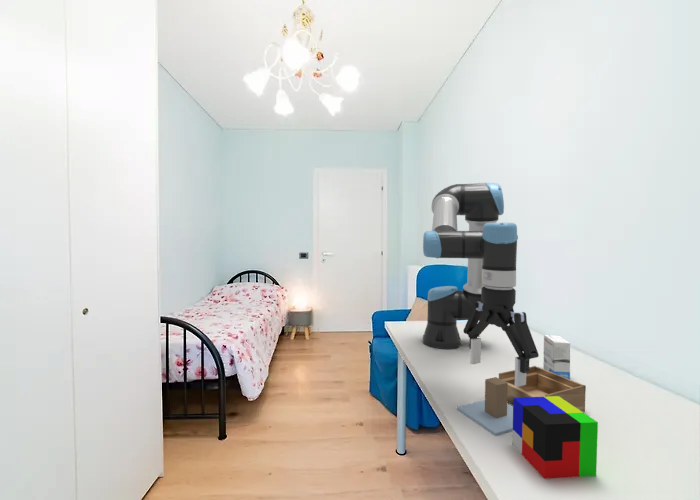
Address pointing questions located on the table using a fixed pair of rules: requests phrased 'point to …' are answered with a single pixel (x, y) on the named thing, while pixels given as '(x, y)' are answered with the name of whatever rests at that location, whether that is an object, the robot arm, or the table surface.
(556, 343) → the ink box
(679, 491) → the table surface
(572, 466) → the puzzle toy
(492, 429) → the cover plate
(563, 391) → the oak box
